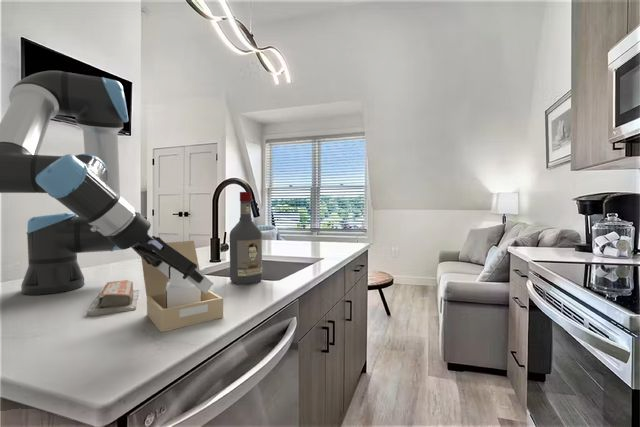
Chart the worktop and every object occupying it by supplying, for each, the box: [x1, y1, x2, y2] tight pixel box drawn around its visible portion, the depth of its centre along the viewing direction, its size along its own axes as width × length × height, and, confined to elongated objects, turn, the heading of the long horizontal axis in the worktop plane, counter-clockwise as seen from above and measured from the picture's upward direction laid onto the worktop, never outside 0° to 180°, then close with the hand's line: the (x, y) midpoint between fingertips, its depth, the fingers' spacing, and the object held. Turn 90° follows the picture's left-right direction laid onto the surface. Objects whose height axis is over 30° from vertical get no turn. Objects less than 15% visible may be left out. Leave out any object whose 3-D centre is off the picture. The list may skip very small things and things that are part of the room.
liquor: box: [229, 191, 263, 286], centre depth 109 cm, size 9×9×30 cm
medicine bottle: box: [166, 266, 201, 308], centre depth 75 cm, size 7×7×12 cm
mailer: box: [140, 240, 224, 333], centre depth 78 cm, size 20×13×16 cm, turn 39°
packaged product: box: [87, 279, 140, 317], centre depth 86 cm, size 18×5×10 cm
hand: (193, 283), depth 77 cm, fingers open, 13 cm apart
